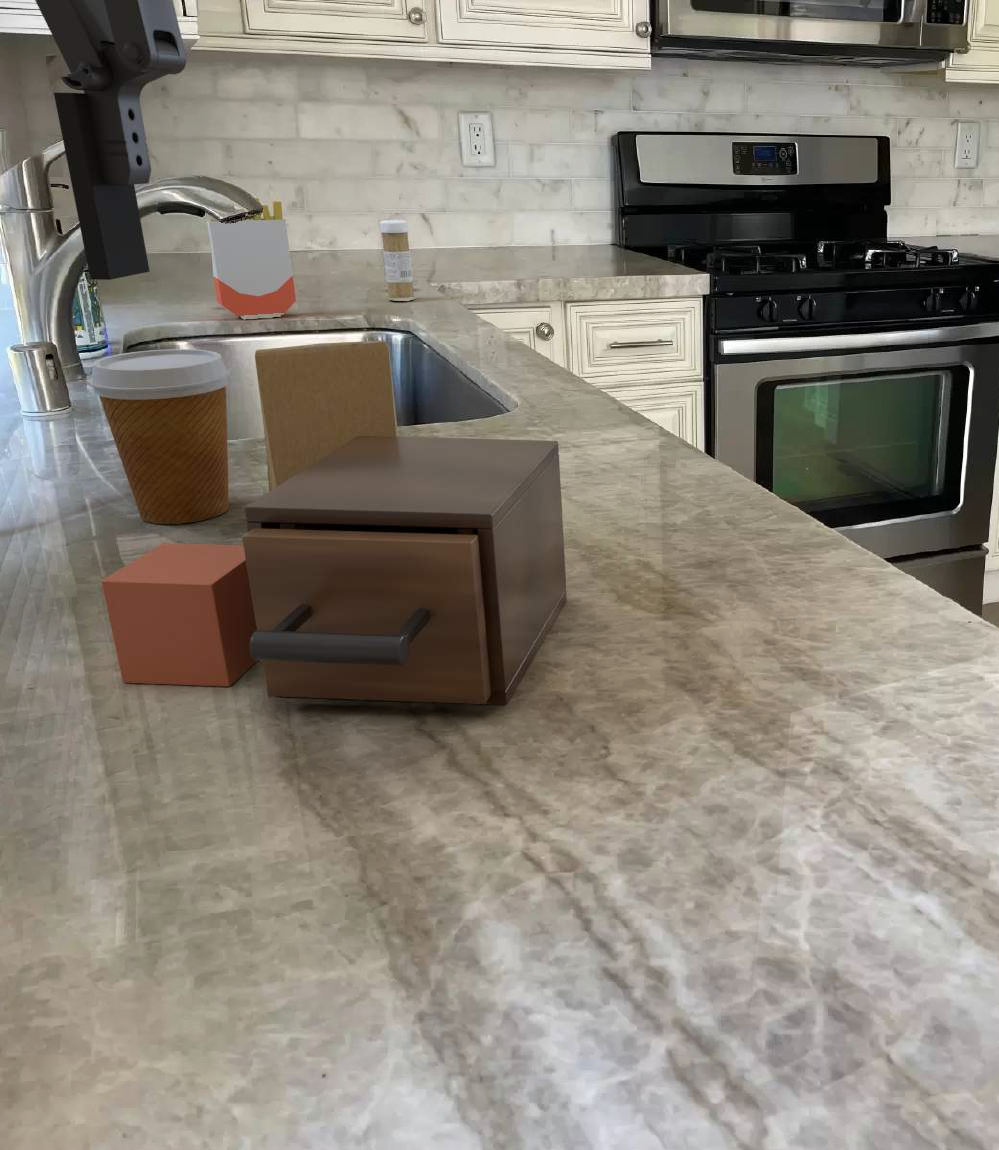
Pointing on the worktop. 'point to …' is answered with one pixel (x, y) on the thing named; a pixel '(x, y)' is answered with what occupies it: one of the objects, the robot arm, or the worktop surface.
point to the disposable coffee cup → (169, 429)
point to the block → (182, 615)
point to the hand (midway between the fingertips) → (31, 272)
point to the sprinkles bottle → (397, 258)
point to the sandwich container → (322, 401)
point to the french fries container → (252, 264)
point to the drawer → (369, 612)
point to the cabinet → (452, 521)
